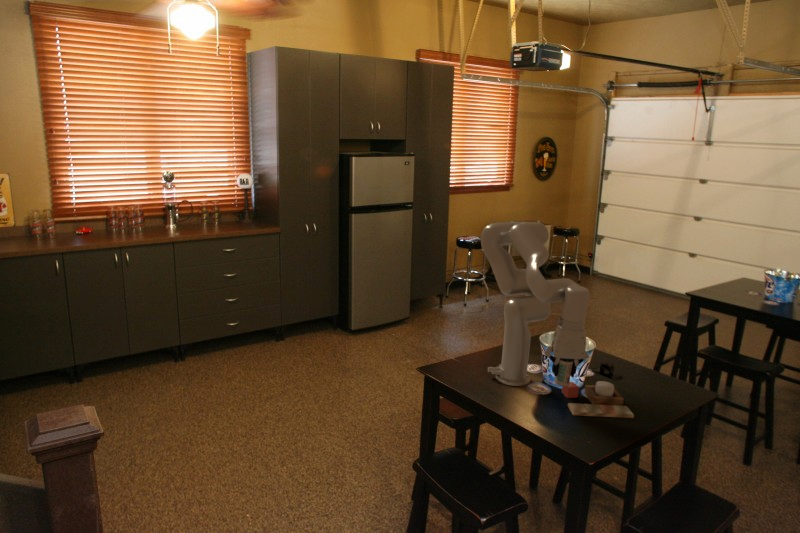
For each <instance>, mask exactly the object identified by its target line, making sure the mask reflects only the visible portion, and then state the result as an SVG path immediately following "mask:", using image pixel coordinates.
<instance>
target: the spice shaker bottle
mask: <svg viewBox="0 0 800 533" xmlns="http://www.w3.org/2000/svg"><path fill="white" fill-rule="evenodd" d="M558 365H559V369H558V375H557V376H555V375H554V376H555V377H554V384H556V385H557V386H560V387H562V386H563V387H564V386H568V385H569V382H571V370H572V365H573V359H563V358H560V360H559V362H558Z"/></svg>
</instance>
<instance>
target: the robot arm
mask: <svg viewBox="0 0 800 533" xmlns="http://www.w3.org/2000/svg"><path fill="white" fill-rule="evenodd" d="M549 237H550V233H549V229H548V228H547V227H546V225H544V223H542V222H539V221H535V222H533V221H532V222H527V221H514V222H513V221H512V222H511V221H510V222H496V223H495V222H494V223H491V224H488V225H485V226H484V228H483V230H482V231H481V234H480V244H481V249H482V251H483V254H484V256H485V257H486V259H487V261H488V262H489V264H490V265H489V266H490V267H491V270H492V272H493V275H494V278H495V280H496V284H497V285H498V288H499V291H500V293H501V294H503V295H504V296H507V297H512V298H510V299H508V300H507V301H505V304H504V306H503V316H504V318H503V319H504V331H503V332H504V333H503V344H502V353H501V363H499V364H498V366H496V367H494V366H487V373H491V374H492V375H495V379H496V380H497V381H498V382H499V383H501V384H504V385H507V386H511V387H524V386H527V385H529V384H530V383H531V377H530V374H528V366H529V365H528V364H529V358H530V357H529V356H530V355H529V354H530V349H531V348H530V347H531V346H530V345H531V338H532V336H531V330H530V328H529V327H528V326H529V325H528V324H529V323H533V322H539V321H544V320H546V319H548V318H549V316H550V315H551V310H552V309H551V304H553V303H559V302H560V303H562V308H561V315H560V316H559V318H558V319H557V318H556V319H555V324H557V326H556V328H555V331H554V334H553V336H552V341H551V345H550V346H549V347H548V348H547V349H546V350H545V351H544V352H543V354H544V355H545V356H546V357H547V358H548V359H550V361H551V362H552V367H551V372H552V373H553V375H554V376H557V375H558V369H559V365H558V362H559V360H560V358H563V359H573V365H572V370H571V376H570V378H575V375H576V373H577V369H578V368H577V367H578V366H580V364H582V363H583V362H584V361H585V360H587V359H589V358H590V355H589V353H588V352H587V350H586V346H587V330H586V329H585V324H586V318H587V312H588V307H589V300H590V296H591V294H590V290H589V289H588V288H587V287H585V286H582V285H579V284H578V283H577V282H575V281H574V280H573V279H571V278H567V277H566V278H565V277H564V278H555V279H554V278H553V279H545V277H544V276H543V274H542V272H541V271H540V269H539V268H541V267H542V266H543V265H544V264H545V263H546V262H547V261H548V260H549V256H550V251H549V250H548V249H547V248H546V246H545V244H546V243H547V242H548V240H549ZM512 245H513V247H514V248H515V250H516V251H517V252H518V254H519V255H520V257H521V258H522V259H523V261H524V262H525V264H526V267H525V268H518V267H517V265H516V263H515V261H514V258H513V256H512V255H511V254H510V253H509V251H508V250H507V249H505V248H504V247H503V246H512ZM521 295H523V296H521ZM514 296H516V297H514ZM551 353H552V354H551Z"/></svg>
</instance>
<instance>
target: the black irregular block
mask: <svg viewBox="0 0 800 533" xmlns="http://www.w3.org/2000/svg"><path fill="white" fill-rule="evenodd" d="M614 366H615V365H614V364H612V363H611V362H608V361H604V362H601V363H600V367H598V368H596V369H593V370H591V372H593V373H595V374H598V375H601V376H603V377H605V378H607V379H610V380H617V379H619V378H621V375H619V374H616V373H614V372H615V371H614V370H615V367H614Z"/></svg>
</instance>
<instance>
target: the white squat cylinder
mask: <svg viewBox="0 0 800 533" xmlns="http://www.w3.org/2000/svg"><path fill="white" fill-rule="evenodd" d="M595 385H596V388H595V394H596V395H597V396H604V397H613V392H614V388H615V385H614V384H613V383H611V382H609V381H606V380H605V381H604V380H597V381H596V383H595Z"/></svg>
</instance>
